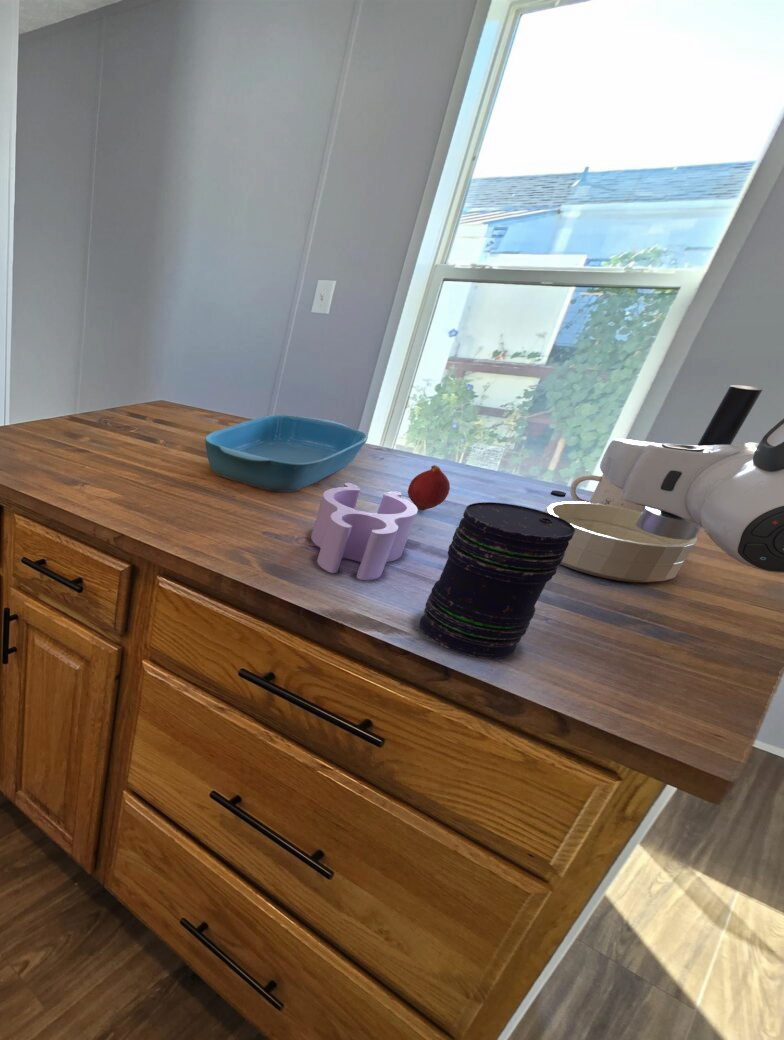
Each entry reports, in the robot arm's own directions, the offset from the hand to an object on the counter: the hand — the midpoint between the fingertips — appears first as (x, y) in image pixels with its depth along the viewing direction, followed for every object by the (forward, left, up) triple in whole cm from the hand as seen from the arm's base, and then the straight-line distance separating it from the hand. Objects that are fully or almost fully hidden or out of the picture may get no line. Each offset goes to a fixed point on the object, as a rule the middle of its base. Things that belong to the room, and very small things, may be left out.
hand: (704, 455), depth 79 cm
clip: (+32, +6, -19) cm, 38 cm away
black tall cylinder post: (0, +1, -10) cm, 10 cm away
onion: (+24, -18, -19) cm, 36 cm away
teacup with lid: (-2, -30, -19) cm, 35 cm away
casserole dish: (+49, -28, -19) cm, 60 cm away
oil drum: (+18, +26, -19) cm, 37 cm away
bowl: (+1, -10, -19) cm, 22 cm away
